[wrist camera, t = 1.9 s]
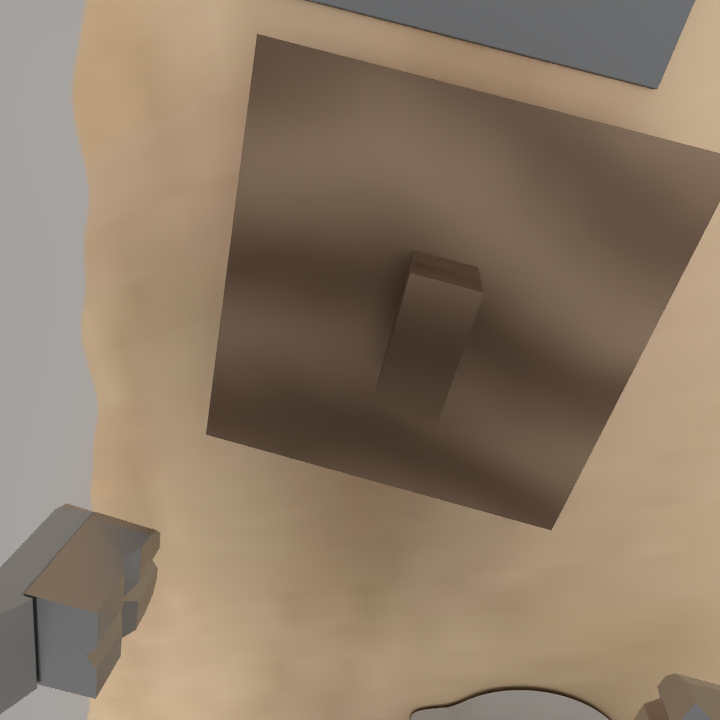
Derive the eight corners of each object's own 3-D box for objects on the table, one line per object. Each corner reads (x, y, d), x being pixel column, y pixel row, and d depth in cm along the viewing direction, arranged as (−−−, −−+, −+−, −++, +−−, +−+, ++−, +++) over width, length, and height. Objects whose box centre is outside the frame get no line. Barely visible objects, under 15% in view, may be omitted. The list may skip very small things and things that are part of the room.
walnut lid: (547, 515, 25) (564, 582, 22) (214, 422, 26) (177, 474, 22) (726, 156, 18) (795, 169, 15) (266, 37, 19) (224, 21, 15)
